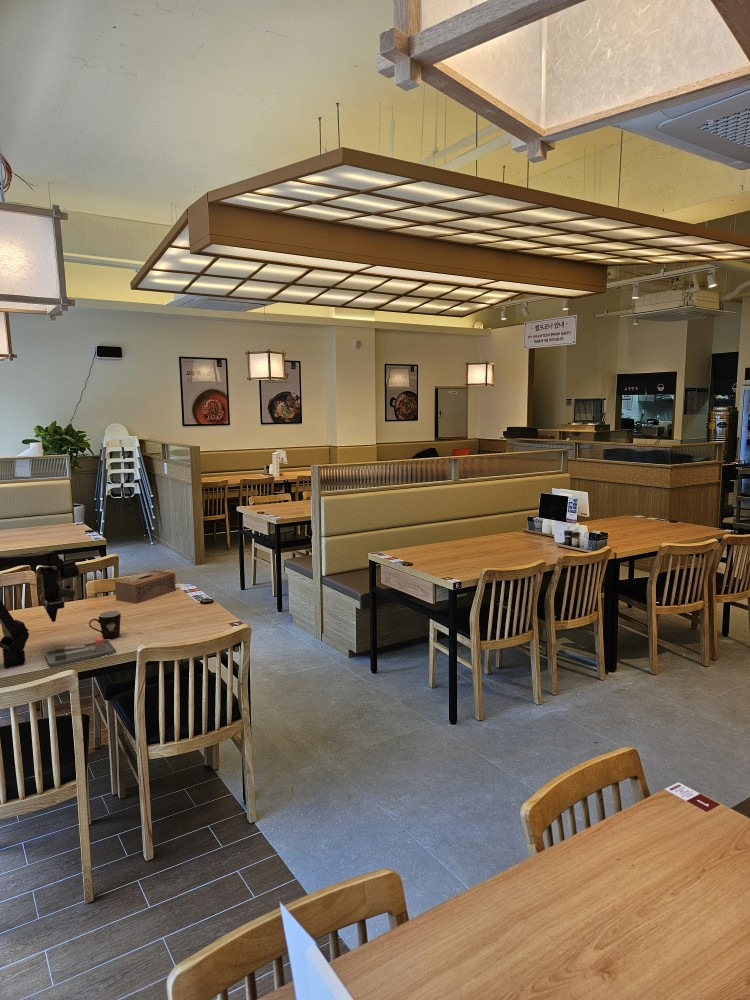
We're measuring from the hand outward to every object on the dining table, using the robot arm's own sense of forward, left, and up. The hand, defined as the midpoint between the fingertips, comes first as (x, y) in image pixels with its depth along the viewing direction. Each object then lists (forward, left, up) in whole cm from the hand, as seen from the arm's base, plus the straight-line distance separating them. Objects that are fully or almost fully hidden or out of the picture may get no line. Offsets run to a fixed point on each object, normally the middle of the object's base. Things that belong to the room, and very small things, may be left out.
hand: (53, 621), depth 244 cm
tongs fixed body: (+7, -12, -11) cm, 18 cm away
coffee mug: (+20, +5, -12) cm, 24 cm away
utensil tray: (+7, -10, -12) cm, 17 cm away
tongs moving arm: (+4, -8, -11) cm, 14 cm away
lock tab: (+14, -12, -9) cm, 20 cm away
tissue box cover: (+50, +59, -12) cm, 78 cm away
